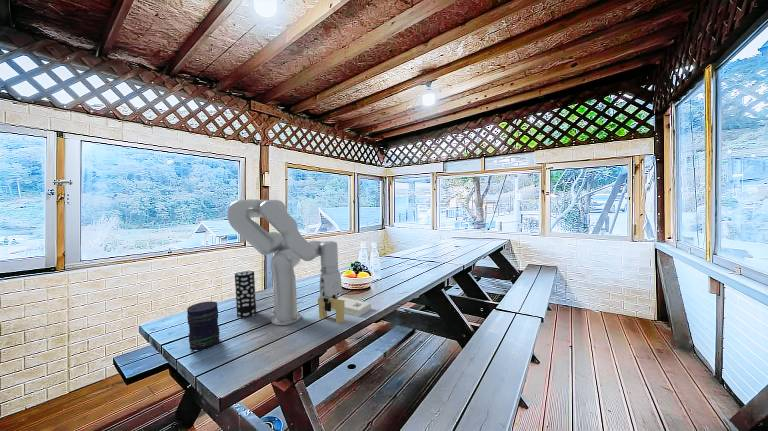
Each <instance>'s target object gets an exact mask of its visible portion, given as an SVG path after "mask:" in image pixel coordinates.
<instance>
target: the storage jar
mask: <svg viewBox="0 0 768 431" xmlns="http://www.w3.org/2000/svg"><path fill="white" fill-rule="evenodd" d="M186 312H187V316H186V319H187V324H188V330H189V332H188V343H189V350H190V349H192V350H203V349H207V350H209V349H208V348H210V349H212V348H214V347H215V345H216V344H217V345H219V343H220V342H219V341H220V340H221V339H220V336H221V335H220V327H219V322H218V319H219V309H218V303H217V301H203V302H198V303H194V304H191V305H190V306H188V307H187V309H186ZM217 345H216V346H217ZM213 346H214V347H213ZM211 347H212V348H211ZM192 350H191V351H192ZM203 351H204V350H203Z"/></svg>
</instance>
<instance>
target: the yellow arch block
mask: <svg viewBox="0 0 768 431" xmlns="http://www.w3.org/2000/svg"><path fill="white" fill-rule="evenodd" d="M326 298H327V297H326ZM330 303H331V308H333V309H336V311H335V322H336V323H338V324H342V323H343V322H345V313H344V308H345V304H344V301H343V300H338V299H333V298H330ZM317 305H318V318H319V319H323V320H324V319H325V318H328V311H325V302H323V300H320V299H319V297H318V298H317Z"/></svg>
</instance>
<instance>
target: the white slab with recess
mask: <svg viewBox="0 0 768 431" xmlns="http://www.w3.org/2000/svg"><path fill="white" fill-rule="evenodd" d="M338 300H343V301H344V304H345V308H344V314H346V315H350V316H355V317H362V315H364V314H366V313H367V312H369V311H370V310H372V302H367V301H363V300H357V299H352V298H347V297H342V296H338ZM331 311H334V312H336V309H333V308H331Z"/></svg>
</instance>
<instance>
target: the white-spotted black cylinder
mask: <svg viewBox="0 0 768 431" xmlns="http://www.w3.org/2000/svg"><path fill="white" fill-rule="evenodd" d="M255 281H256V280H255V271H253V270H246V271H240V272H236V273H234V284H235V286H234V287H235V303H236V304H235V305H236V317H237V318H238V317H240V318H239V319H247V318H251V317H253V316H255V315H256V314H257V301H256V283H255ZM250 316H251V317H250ZM246 317H247V318H246Z"/></svg>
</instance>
